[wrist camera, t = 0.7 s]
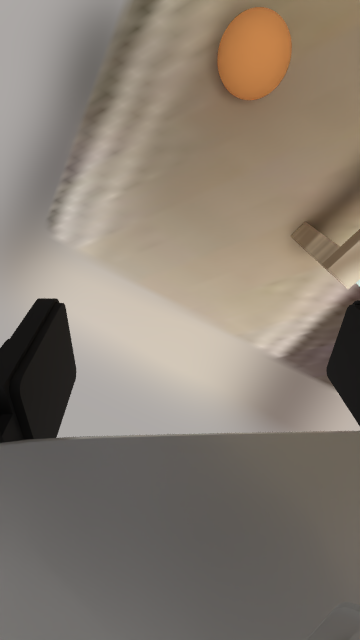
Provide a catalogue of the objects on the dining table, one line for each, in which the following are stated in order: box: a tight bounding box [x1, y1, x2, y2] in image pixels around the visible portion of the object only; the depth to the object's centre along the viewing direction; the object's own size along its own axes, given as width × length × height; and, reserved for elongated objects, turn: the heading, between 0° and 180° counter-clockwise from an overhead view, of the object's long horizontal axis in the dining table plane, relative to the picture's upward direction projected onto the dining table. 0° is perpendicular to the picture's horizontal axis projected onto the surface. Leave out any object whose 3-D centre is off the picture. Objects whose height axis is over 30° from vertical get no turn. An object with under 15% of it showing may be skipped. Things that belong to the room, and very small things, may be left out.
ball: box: [217, 7, 292, 100], centre depth 25 cm, size 6×6×6 cm
